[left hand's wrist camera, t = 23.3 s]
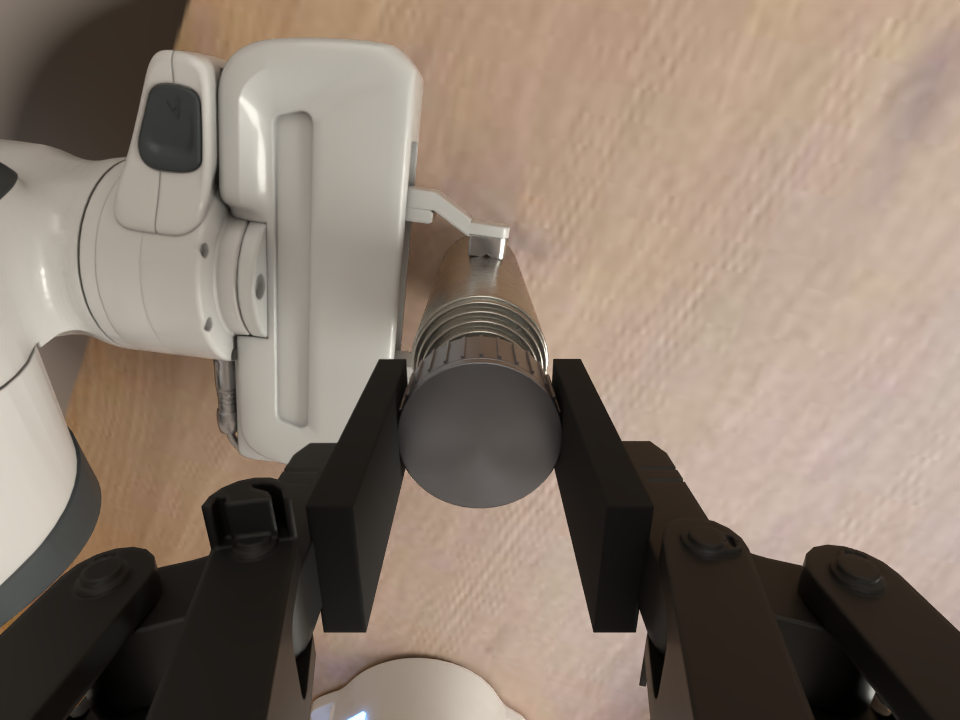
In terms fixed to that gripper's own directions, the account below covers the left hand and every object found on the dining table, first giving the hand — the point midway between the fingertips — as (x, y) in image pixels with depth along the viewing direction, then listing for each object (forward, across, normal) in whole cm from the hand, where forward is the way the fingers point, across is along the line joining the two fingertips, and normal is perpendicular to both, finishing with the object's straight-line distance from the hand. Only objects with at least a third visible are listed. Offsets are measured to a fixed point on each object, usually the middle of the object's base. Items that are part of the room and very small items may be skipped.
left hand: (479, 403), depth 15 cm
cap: (-2, 0, 0) cm, 2 cm away
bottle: (+18, 0, 0) cm, 18 cm away
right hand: (+11, -1, 0) cm, 11 cm away
